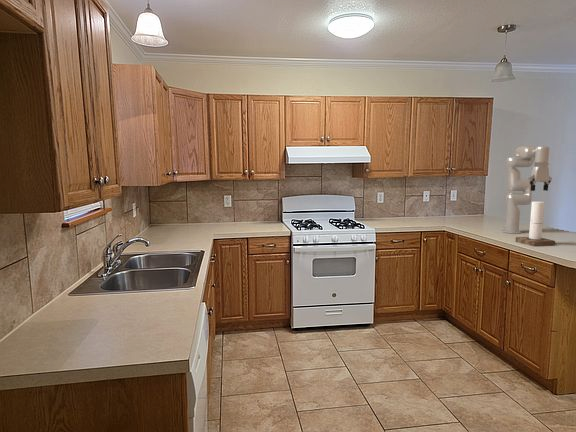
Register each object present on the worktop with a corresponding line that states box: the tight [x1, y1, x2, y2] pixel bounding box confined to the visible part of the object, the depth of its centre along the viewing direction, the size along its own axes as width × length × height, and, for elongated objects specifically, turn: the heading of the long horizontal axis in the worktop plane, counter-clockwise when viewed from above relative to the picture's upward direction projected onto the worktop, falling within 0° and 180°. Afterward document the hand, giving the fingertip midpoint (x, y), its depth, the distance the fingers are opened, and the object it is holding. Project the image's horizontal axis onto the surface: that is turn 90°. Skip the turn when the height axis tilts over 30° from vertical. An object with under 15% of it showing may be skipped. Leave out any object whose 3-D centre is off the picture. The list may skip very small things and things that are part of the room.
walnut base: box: [515, 236, 556, 247], centre depth 254 cm, size 16×16×4 cm
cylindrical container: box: [528, 201, 545, 239], centre depth 253 cm, size 7×7×25 cm
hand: (539, 190), depth 250 cm, fingers open, 9 cm apart
